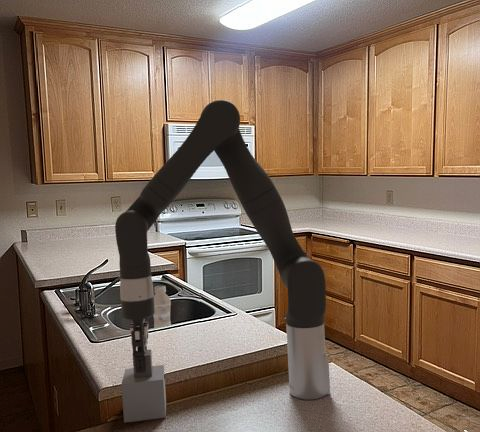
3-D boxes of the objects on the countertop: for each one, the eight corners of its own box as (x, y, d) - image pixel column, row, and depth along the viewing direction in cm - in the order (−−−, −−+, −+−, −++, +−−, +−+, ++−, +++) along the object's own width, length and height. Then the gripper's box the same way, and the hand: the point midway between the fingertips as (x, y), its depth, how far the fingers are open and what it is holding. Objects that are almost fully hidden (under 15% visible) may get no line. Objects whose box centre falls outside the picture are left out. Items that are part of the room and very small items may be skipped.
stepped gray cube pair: (166, 399, 114) (162, 344, 113) (165, 417, 105) (161, 357, 104) (127, 404, 113) (124, 348, 112) (124, 422, 103) (119, 362, 103)
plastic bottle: (170, 348, 152) (166, 288, 151) (150, 348, 154) (146, 288, 153) (176, 342, 159) (173, 284, 158) (158, 342, 160) (154, 284, 159)
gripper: (152, 301, 101) (157, 376, 102) (154, 288, 115) (159, 354, 116) (117, 304, 100) (122, 380, 100) (123, 291, 114) (128, 357, 115)
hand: (142, 366), depth 108 cm, fingers open, 6 cm apart
